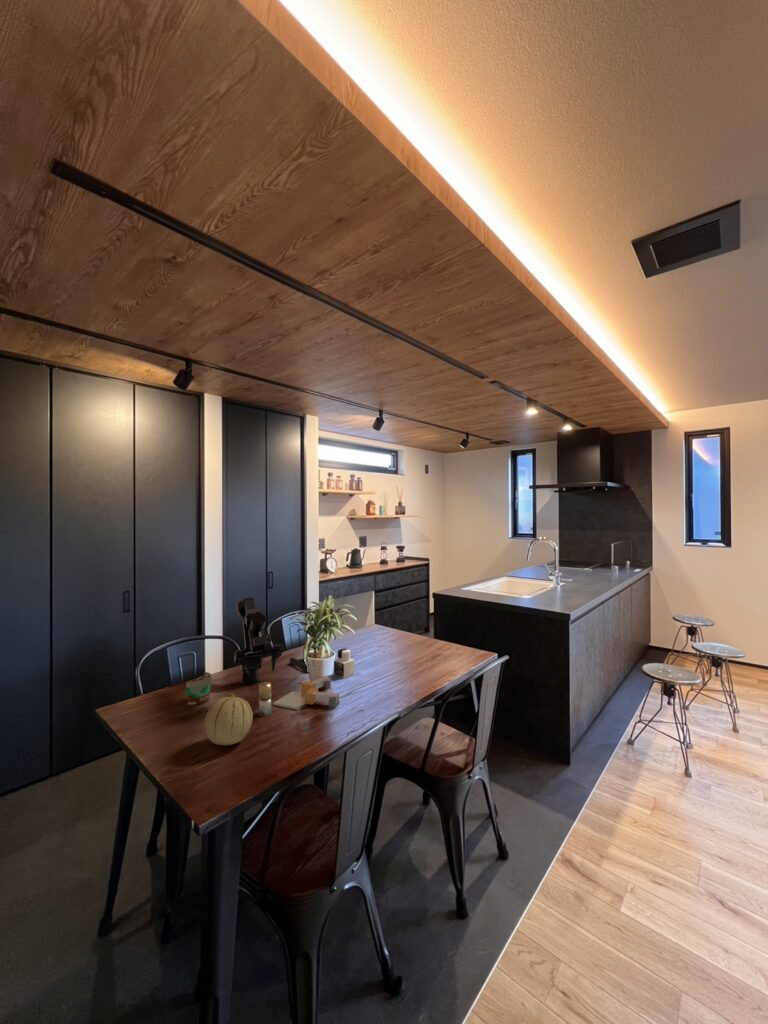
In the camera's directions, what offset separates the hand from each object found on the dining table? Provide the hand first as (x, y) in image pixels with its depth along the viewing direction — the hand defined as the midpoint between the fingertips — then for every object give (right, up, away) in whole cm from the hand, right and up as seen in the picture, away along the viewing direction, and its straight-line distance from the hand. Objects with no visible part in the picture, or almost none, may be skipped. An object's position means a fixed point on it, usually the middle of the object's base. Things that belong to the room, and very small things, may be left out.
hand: (261, 673), depth 162 cm
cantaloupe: (-2, -12, -28) cm, 30 cm away
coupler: (+3, -13, -7) cm, 15 cm away
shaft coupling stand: (+21, -13, +7) cm, 25 cm away
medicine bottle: (+30, -14, +33) cm, 47 cm away
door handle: (+11, -15, +47) cm, 51 cm away
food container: (-26, -14, +5) cm, 29 cm away
